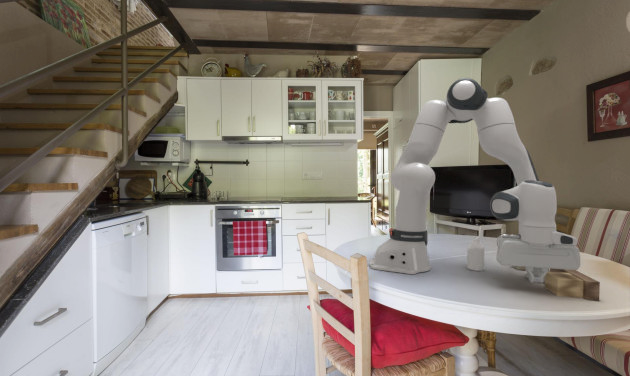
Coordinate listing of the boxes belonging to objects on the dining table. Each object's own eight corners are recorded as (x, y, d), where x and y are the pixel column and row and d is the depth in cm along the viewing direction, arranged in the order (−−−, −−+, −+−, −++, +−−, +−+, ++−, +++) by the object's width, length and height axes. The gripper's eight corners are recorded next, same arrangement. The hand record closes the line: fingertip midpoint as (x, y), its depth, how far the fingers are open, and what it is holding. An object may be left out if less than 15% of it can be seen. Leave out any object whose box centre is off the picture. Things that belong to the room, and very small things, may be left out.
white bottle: (464, 234, 112) (480, 235, 111) (464, 266, 112) (480, 266, 111) (471, 237, 106) (487, 238, 105) (470, 270, 106) (487, 271, 105)
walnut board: (585, 299, 80) (586, 281, 80) (549, 276, 99) (549, 261, 99) (599, 300, 79) (599, 282, 79) (560, 277, 98) (560, 262, 98)
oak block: (557, 296, 83) (557, 278, 83) (544, 287, 89) (545, 271, 89) (583, 298, 81) (583, 280, 81) (568, 289, 88) (568, 272, 88)
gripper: (500, 235, 86) (499, 282, 87) (584, 239, 81) (583, 289, 81) (493, 231, 93) (492, 275, 93) (571, 235, 87) (570, 281, 87)
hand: (535, 281), depth 87 cm, fingers closed
